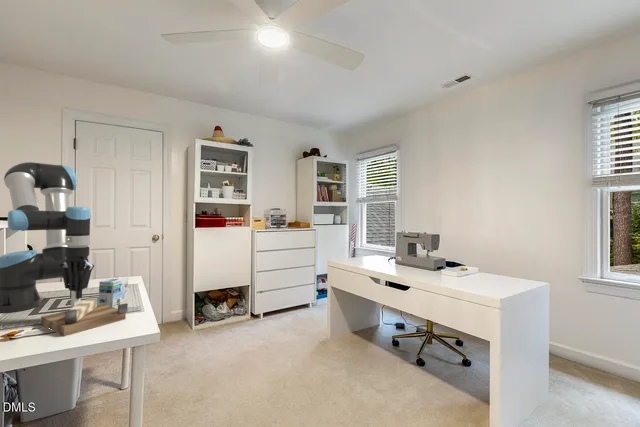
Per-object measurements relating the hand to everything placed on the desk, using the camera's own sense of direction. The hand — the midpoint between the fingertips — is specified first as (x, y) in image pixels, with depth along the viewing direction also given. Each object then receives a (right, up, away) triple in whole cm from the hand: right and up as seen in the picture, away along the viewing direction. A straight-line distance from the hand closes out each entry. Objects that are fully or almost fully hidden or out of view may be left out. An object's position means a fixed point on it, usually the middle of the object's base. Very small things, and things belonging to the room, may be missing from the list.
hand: (75, 306), depth 120 cm
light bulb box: (0, -5, +21) cm, 22 cm away
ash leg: (+5, -2, -3) cm, 6 cm away
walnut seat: (+6, -5, -3) cm, 8 cm away
